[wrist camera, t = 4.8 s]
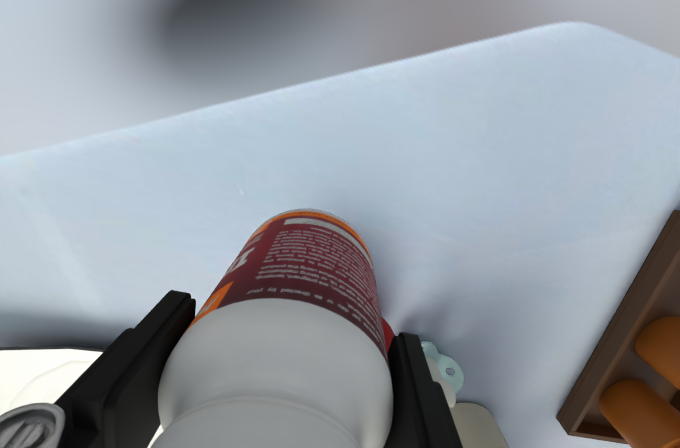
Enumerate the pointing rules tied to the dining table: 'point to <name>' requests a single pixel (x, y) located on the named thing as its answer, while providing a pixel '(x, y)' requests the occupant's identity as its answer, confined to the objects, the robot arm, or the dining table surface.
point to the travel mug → (477, 427)
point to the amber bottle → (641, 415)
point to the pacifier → (444, 371)
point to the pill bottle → (284, 347)
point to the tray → (629, 341)
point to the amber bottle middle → (662, 347)
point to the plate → (42, 374)
